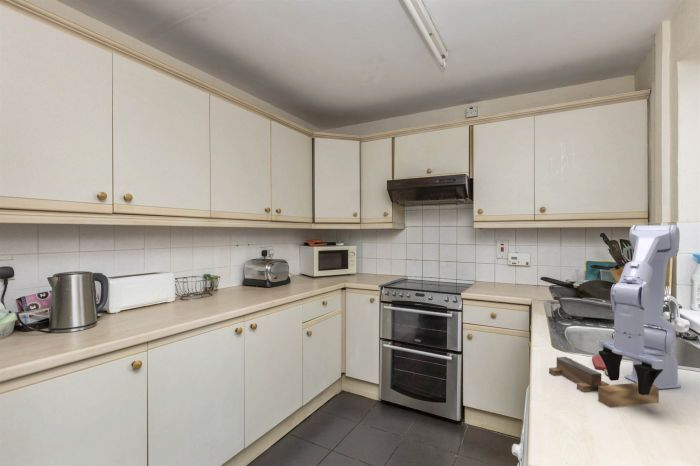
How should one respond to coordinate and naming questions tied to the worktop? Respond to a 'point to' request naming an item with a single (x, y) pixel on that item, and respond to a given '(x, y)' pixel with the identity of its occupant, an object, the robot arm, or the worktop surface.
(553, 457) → the worktop surface
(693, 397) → the worktop surface
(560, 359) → the ridge
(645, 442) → the worktop surface
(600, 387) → the oak bar
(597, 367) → the popsicle
